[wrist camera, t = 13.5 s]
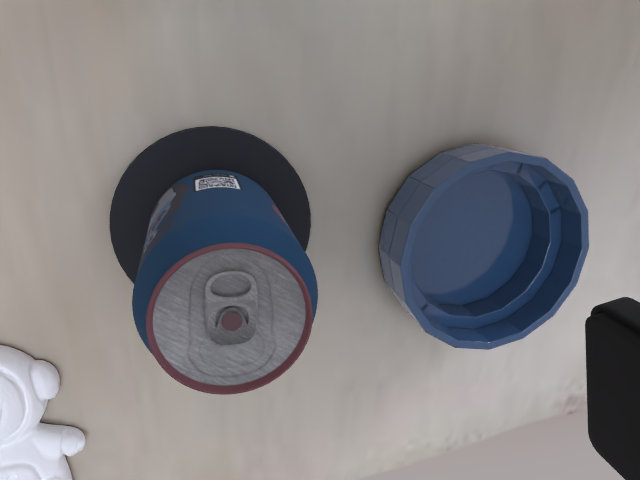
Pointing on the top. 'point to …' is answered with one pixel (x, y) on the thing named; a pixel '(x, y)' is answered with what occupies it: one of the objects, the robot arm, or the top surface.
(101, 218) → the top surface
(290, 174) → the coaster
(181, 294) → the soda can
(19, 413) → the astronaut figurine
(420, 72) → the top surface
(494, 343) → the bowl
